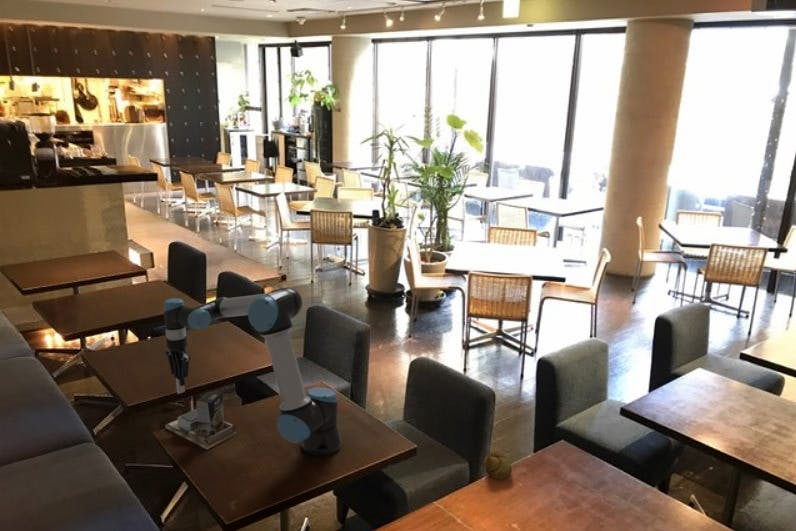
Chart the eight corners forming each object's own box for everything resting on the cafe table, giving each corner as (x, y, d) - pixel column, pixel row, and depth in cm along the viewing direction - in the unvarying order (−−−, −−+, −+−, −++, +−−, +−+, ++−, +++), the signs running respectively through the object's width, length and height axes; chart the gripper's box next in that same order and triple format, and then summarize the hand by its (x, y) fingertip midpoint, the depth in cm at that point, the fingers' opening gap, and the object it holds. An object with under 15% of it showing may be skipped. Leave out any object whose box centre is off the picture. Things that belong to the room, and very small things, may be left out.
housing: (215, 423, 247) (214, 411, 246) (190, 435, 238) (190, 422, 237) (202, 417, 252) (201, 405, 250) (178, 428, 242) (177, 416, 241)
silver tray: (236, 434, 242) (235, 426, 241) (206, 449, 231) (206, 440, 230) (194, 414, 257) (194, 406, 256) (165, 427, 246) (164, 419, 245)
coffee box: (212, 441, 235) (210, 403, 231) (197, 438, 236) (195, 400, 232) (225, 429, 243) (223, 392, 239) (210, 427, 245) (208, 390, 241)
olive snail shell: (486, 460, 230) (487, 441, 228) (512, 464, 228) (513, 445, 226) (482, 479, 218) (483, 459, 216) (509, 484, 216) (511, 464, 214)
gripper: (194, 338, 241) (199, 393, 246) (174, 331, 248) (179, 384, 254) (178, 343, 235) (183, 399, 240) (158, 336, 242) (163, 391, 248)
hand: (181, 392), depth 247 cm, fingers closed
